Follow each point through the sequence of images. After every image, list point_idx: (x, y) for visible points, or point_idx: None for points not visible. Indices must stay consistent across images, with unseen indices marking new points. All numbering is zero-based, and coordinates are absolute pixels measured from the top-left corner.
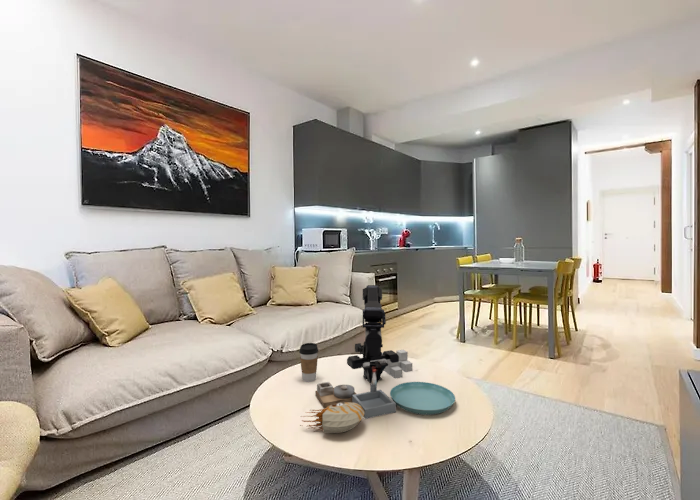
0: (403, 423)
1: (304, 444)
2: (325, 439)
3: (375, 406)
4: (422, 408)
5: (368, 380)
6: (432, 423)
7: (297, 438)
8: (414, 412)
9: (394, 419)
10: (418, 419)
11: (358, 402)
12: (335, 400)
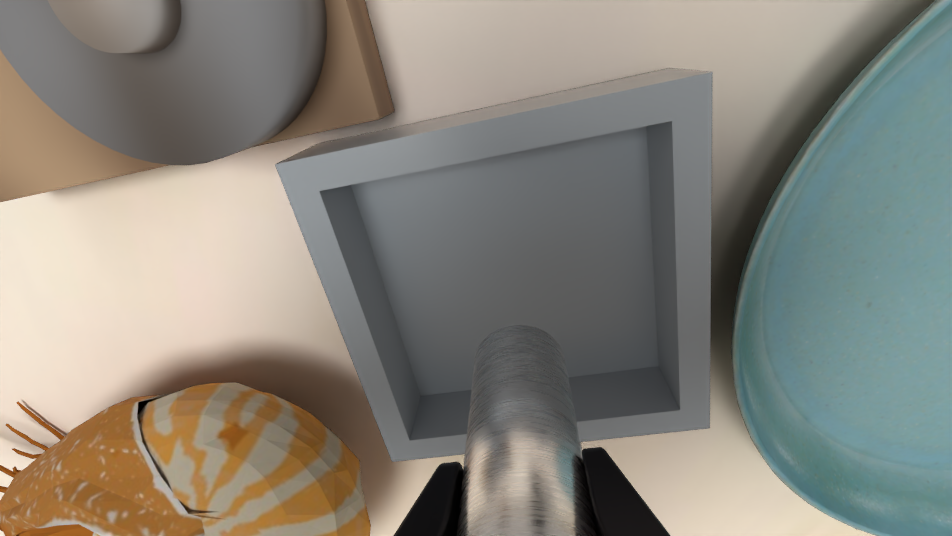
0: (654, 494)
1: None
2: None
3: None
4: (933, 392)
5: (426, 499)
6: (843, 528)
7: None
8: (809, 453)
9: (617, 447)
10: None
11: (344, 336)
12: (105, 168)
